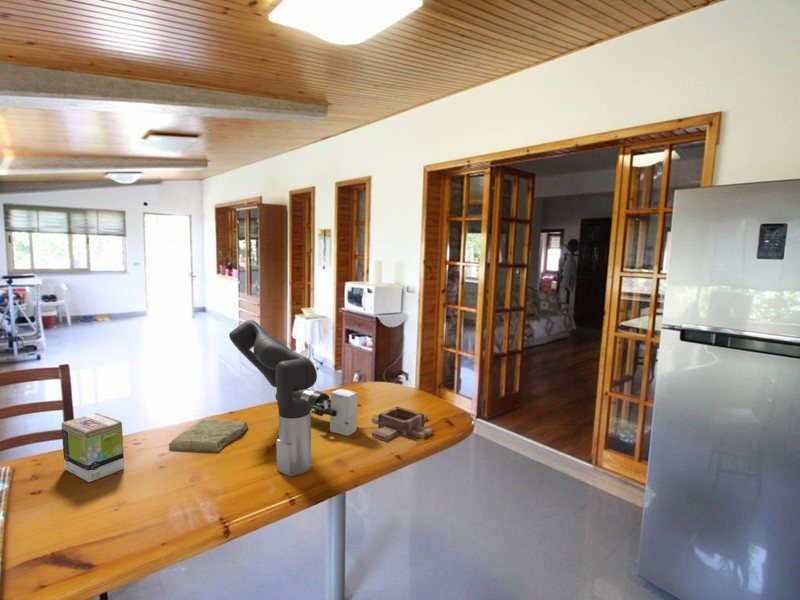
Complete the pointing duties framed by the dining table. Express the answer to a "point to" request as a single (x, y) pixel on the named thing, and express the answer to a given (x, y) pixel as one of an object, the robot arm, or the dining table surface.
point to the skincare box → (344, 412)
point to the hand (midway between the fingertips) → (344, 410)
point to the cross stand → (400, 424)
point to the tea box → (93, 446)
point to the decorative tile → (208, 435)
